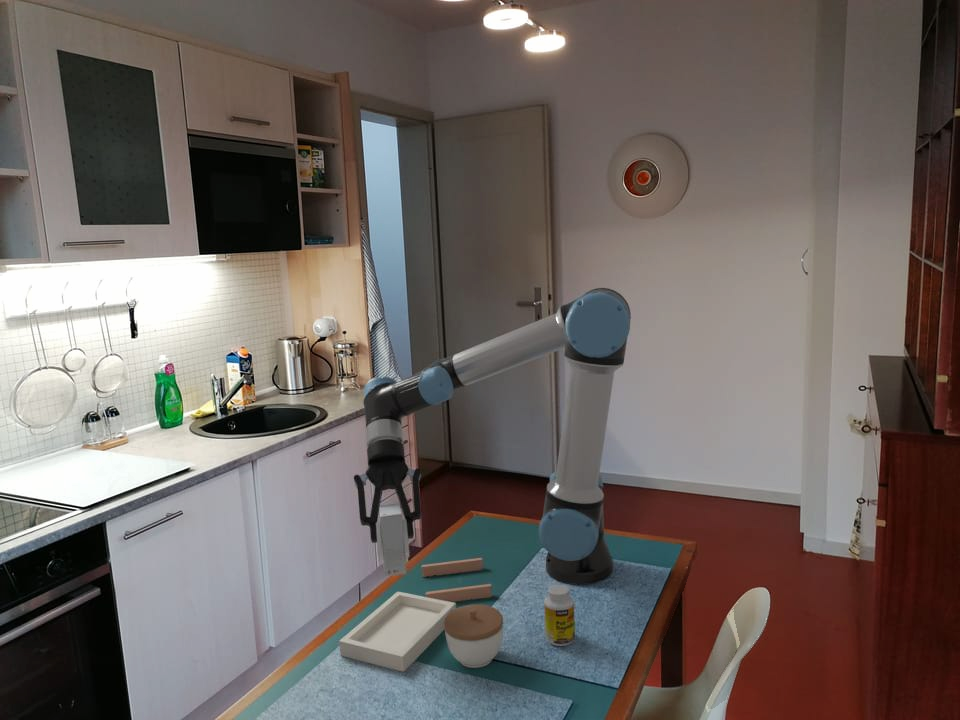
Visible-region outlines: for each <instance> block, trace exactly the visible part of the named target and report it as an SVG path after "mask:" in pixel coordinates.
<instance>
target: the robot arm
mask: <svg viewBox="0 0 960 720" xmlns="http://www.w3.org/2000/svg"><path fill="white" fill-rule="evenodd" d="M631 316H632V315H631V308H630V305H629V303H628V301H627V300H626V299H625V297H624V296H623V295H622V294H621V293H620V292H618V291H616V290H614V289H612V288H608V287H598V288H593V289H591V290H589V291H587V292H585V293H584V294H583V295H581V296H579V297H578V298H576V299H573V300H572V301H571V302H570V301H569V302H568V303H565V304H564V305H561V306H559V308H558V309H557V312H556V313H553V314H552V315H549V316H547V317H544V318H541V319H539V320H537V321H534V322H531V323H529V324H527V325H524V326H521V327H519V328H517V329H514V330H512V331H509V332H507V333H505V334H502V335H500V336H497V337H495V338H492V339H489V340H487V341H485V342H482V343H480V344H477V345H475V346H473V347H470V348H468V349H465V350H462V351H461V352H458V353H455V354H453V355H450V356H448V357H445V358H441V359H437V360H435V361H433V362H432V363H430V365H428V366H427V367H425V368H423V369H422V370H420V371H418V372H417V373H414V374H413V375H410V376H408V377H405V378H404V379H402V380H399V381H397V380H395V379H394V378H392V377H390V376H389V377H388V376H381V377H377V376H376V377H374V378H371V379H370V380H368V381H367V383H365V385H364V387H363V400H362V401H363V407H364V418H365V419H364V421H365V440H366V442H365V443H366V448H367V449H366V453H367V455H366V456H367V468H366V471H365V472H364V473H362V474H360V475H359V474H355V475H353V481H354V485H355V488H356V489H357V498H358V510H359V512H358V513H359V521H360V525H361V526H368V527H369V530H370V532H369V533H370V541H371V543H372V544H377V545H376V546H377V557H378V558H377V559H378V561H379V562H380V561H382V562H383V554H382V540H381V527H380V521H379V522H378V519H379V515H380V514H379V506H381V503H382V501H381V500H382V496H383V492H384V491H386V490H394V491H395V493H396V496H397V498H398V502H399V504H400V507H401V511H402V515H403V516H404V519H403V518H402V520H403V533H404V545H405V559H406V558H410V556H411V555H410V548H409V546H410V545H409V540H410V539H414V535H415V532H414V522H415V521H416V520H417V521H418V520H420V519H421V518H422V507H421V506H422V505H421V495H420V480H421V477H422V475H421V474H422V473H421V472H422V470H421V469H420V468H415V469H412V468H409V466H408V465H407V462H406V457H405V456H406V455H405V445H404V436H403V435H404V433H403V425H402V418H405V417H408V416H410V415H411V414H415V413H418V412H419V411H420V412H421V411H423V410H425V409H428V408H431V407H433V406H439V405H441V403H445V402H446V401H448V400H450V399H451V398H452V397H453V395H454V392H455V391H457V390H460V389H462V388H465V387H466V386H468V385H472V384H474V383H477V382H480V381H482V380H486V379H487V378H490V377H493V376H495V375H497V374H500V373H503V372H506V371H508V370H510V369H513V368H516V367H519V366H521V365H524V364H526V363H528V362H529V363H530V362H532V361H534V360H537V359H540V358H542V357H544V356H547V355H550V354H553V353H555V352H557V351H561V350H563V349H564V353H563V358H564V359H565V360H566V361H567V363H568V364H569V375H568V382H567V383H568V384H567V389H566V396H565V405H564V410H563V411H564V412H563V418H562V428H561V435H560V440H559V441H560V443H559V448H558V456H557V465H556V471H554V472H553V473H551V474H550V476H549V482H548V483H547V485H546V491H545V497H544V498H545V499H544V506H543V513H542V517H541V520H540V522H539V524H538V535H539V536H538V537H539V541H540V543H541V546H543V548H544V549H545V550H546V551H547V554H546V558H545V570H546V573H547V575H548V576H549V577H550V578H552V579H554V580H555V581H558V582H561V583H565V584H570V585H590V584H594V583H595V584H596V583H600V582H602V581H604V580H606V579H607V578H609V577H610V576H611V575H612V574H613V572H614V565H613V563H614V561H613V557H612V555H611V553H610V549H609V547H608V543H607V541H606V537H605V532H604V531H605V525H604V496H605V494H604V492H603V490H604V489H603V488H604V484H603V478H602V475H601V473H600V472H601V465H602V458H603V453H604V452H603V451H604V444H605V439H606V438H605V437H606V430H607V424H608V416H609V411H610V406H611V405H610V404H611V403H610V402H611V397H612V390H613V383H614V378H615V377H614V375H615V372H616V371H617V370H619V369H620V368H621V367H622V366H623V365H624V362H625V355H626V349H627V344H628V343H627V341H628V336H629V335H630V329H631V318H632V317H631ZM407 476H409V480H410V482H412V497H413V508H414V511H411V508H410V505H409V503H408V499H407V496H406V494H405V491H404V488H403V485H402V484H403V482H404V481H405V479H406V478H407ZM367 480H368V481H369V482H370V483H371V484H372V485H373V486H374V492H373V498H372V503H371V509H370V516H367V504H366V494H365V493H366V492H365V488H364V487H365V486H367Z"/></svg>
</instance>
